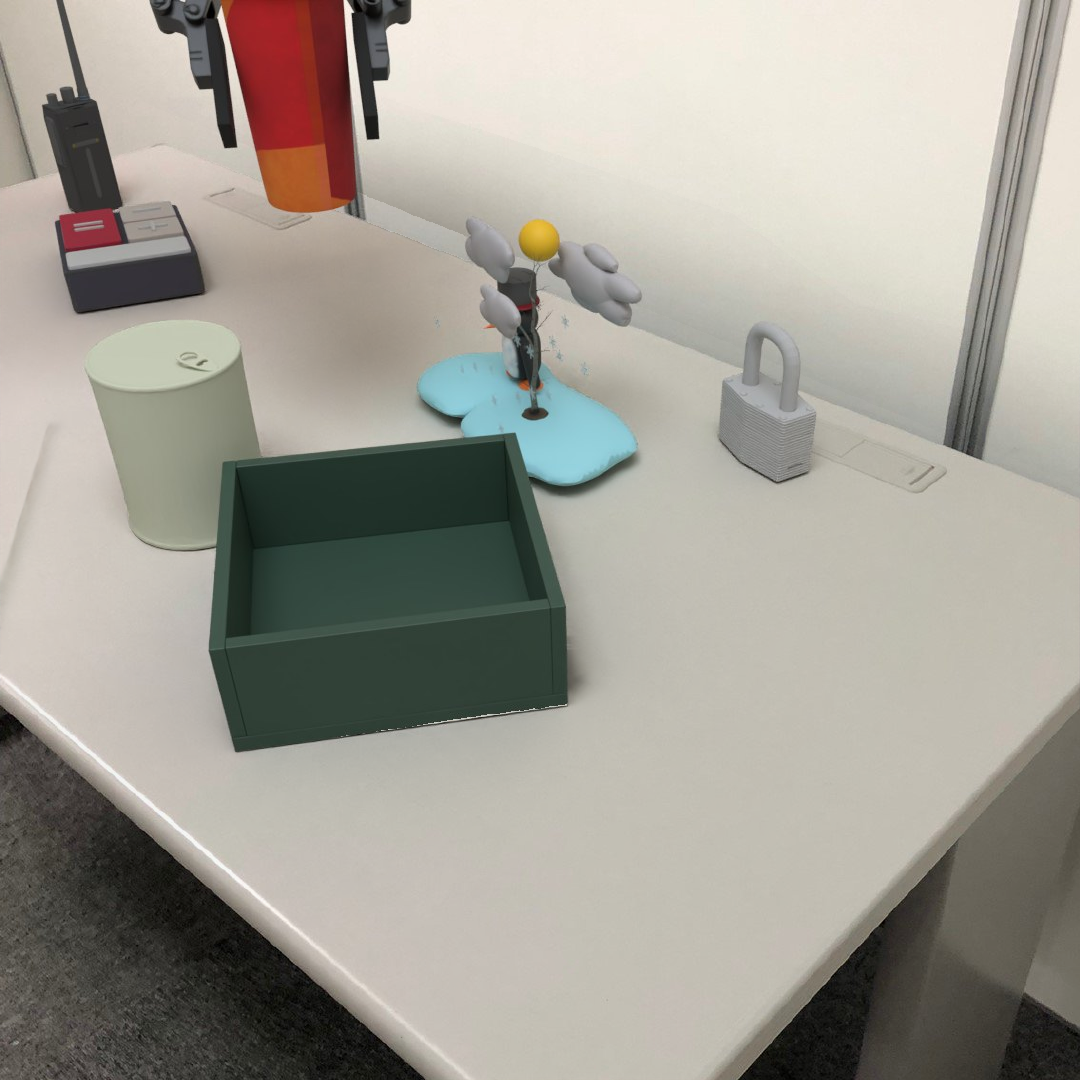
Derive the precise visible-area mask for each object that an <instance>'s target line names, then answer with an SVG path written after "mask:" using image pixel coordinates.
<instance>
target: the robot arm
mask: <svg viewBox="0 0 1080 1080" xmlns="http://www.w3.org/2000/svg"><path fill="white" fill-rule="evenodd" d="M148 1H149V4H150V8H151V10H152V13H153V17H154V19H155V22H156V24H157V25H156V26H157V28H158V30H159V31H160V32H161V33H163V34H165V35H173V34H175V33H177V34H181V35H183V36H184V37H186V40H187V48H188V49H187V50H188V58H189V63H190V65H189V66H190V71H191V74H192V77H193V80H194V83H195V85H196V86H197V88H198V90H199V91H200V90H203V91H204V90H212V93H213V103H214V109H215V117H216V126H217V130H218V132H219V135H220V138H221V141H222V146H223V149H236V148H238V141H237V140H238V139H237V131H236V125H235V117H234V109H233V100H232V99H233V98H232V92H231V91H232V90H231V82H230V75H229V67H228V59H227V49H226V45H225V40H224V37H223V32H222V28H221V24H220V21H219V18H218V17H219V14H220V10H221V9H222V6H221V2H220V0H184V1H183V0H148ZM346 1H347V3H348V5H349V6H350V9H351V10H352V12H350V16H351V26H352V28H351V29H352V38H353V39H352V40H353V47H354V54H355V55H354V56H355V61H356V70H357V77H358V85H359V91H360V99H361V104H362V105H361V108H362V114H363V122H364V128H365V129H364V130H365V136H366V141H371V140H380V125H379V123H380V122H379V112H378V105H377V97H376V90H375V89H376V88H375V83H374V82H383V81H385V82H387V81H389V78H390V74H391V62H390V61H391V57H390V52H389V51H390V50H389V44H388V36H387V30H388V29H389V27H391V26H393V25H395V24H398V25H401V26H402V25H406V24H408V23H410V21H411V19H412V0H346Z"/></svg>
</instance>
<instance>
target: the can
mask: <svg viewBox="0 0 1080 1080" xmlns="http://www.w3.org/2000/svg"><path fill="white" fill-rule="evenodd" d="M83 365H84V371H85V373H86V375H87V377H88V380H89V382H90V386H91V389H92V392H93V395H94V399H95V402H96V405H97V408H98V412H99V415H100V418H101V421H102V425H103V428H104V431H105V435H106V439H107V441H108V442H107V443H108V445H109V449H110V452H111V456H112V459H113V462H114V465H115V469H116V473H117V477H118V480H119V484H120V488H121V491H122V494H123V498H124V501H125V505H126V510H127V515H128V517H127V519H128V525H129V527H130V530H131V531H132V533H133V534H134V535H135V536H136V537H137V538H138V539H139V540H141V541H142V542H144V543H146V544H148V545H151V546H152V547H156V548H160V549H165V550H171V551H196V550H199V551H200V550H205V549H210V548H216V543H217V530H218V517H219V503H220V490H221V477H222V463H223V462H227V461H237V460H246V459H256V458H263V457H262V453H261V448H260V442H259V438H258V433H257V427H256V424H255V423H256V422H255V417H254V413H253V409H252V403H251V397H250V392H249V387H248V382H247V375H246V371H245V365H244V359H243V352H242V343H241V341H240V338H239V337H238V336H237V334H236V333H235V332H234V331H232V330H231V329H229V328H228V327H225V326H224V325H221V324H218V323H215V322H209V321H205V320H197V319H169V320H167V319H166V320H161V321H160V320H158V321H152V322H146V323H142V324H138V325H135V326H132V327H128V328H124V329H123V330H120V331H116V332H115V333H112V334H110V335H108V336H107V337H105V338H104V339H102V340H100V341H99V342H97V343H96V344H95V345H94V346H93V347H92V348H91V349H90V350H89V351H88V353H87V354H86V355H85V358H84V364H83Z"/></svg>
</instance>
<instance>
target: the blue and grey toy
mask: <svg viewBox="0 0 1080 1080" xmlns="http://www.w3.org/2000/svg"><path fill="white" fill-rule="evenodd" d="M465 229H466V231H467V234H468V235H470V236H468V237H467V238H466V240H465V242H464V248H465V253H466V255H467V257H468V259H469V260H470V261H471V262H472V263H473V264H475V265H476V266H477V267H479V268H482V269H483V270H484V271H485V273H486V274H487V275H488V276H490V277H491V278H492V279H493V280H495V281H496V287H497V289H496V288H495V287H494V286H492V285H490V284H488V283H484V284H482V285H480V289H479V292H480V295H481V297H482V298H483V299H482V300H480V303H479V311H480V314H481V316H482V318H483V320H485V321H486V322H487V323H488V325H487V326H485V327H483V328H482V329H483V330H485V329H494V328H495V329H496V330H497V331H498V332H499V333H500V334H501V335H502V336H501V349H502V350H501V352H471V353H463V354H459V355H454V356H451V357H448V358H445V359H442V360H440V361H438V362H436V363H435V364H433V365H431V366H429V367H428V368H427V369H426V370H425V371H423V373H422V374H421V375H420V377H419V379H418V382H417V383H416V384H417V385H416V391H417V393H418V395H419V396H420V398H421V399H422V400H423V401H424V402H425V403H426V404H427V405H429V406H430V407H431V408H432V409H435V410H436V411H438V412H440V413H442V414H444V415H447V416H450V417H453V418H462V421H461V422H460V430H461V431H462V434H463V436H464V438H466V437H476V436H486V435H496V434H505V433H516V436H517V439H518V443H519V446H520V449H521V453H522V456H523V460H524V463H525V467H526V470H527V474H528V477H529V478H535V479H537V480H540V481H542V482H544V483H547V484H549V485H553V486H560V487H569V486H575V485H580V484H584V483H586V482H588V481H591V480H594V479H595V478H597V477H599V476H601V475H602V474H604V473H605V472H607V471H608V470H609V469H611V468H612V467H614V466H615V465H617V464H618V463H620V462H622V461H624V460H626V459H628V458H629V457H631V456H633V455H634V454H635V452H636V451H637V450H638V442H637V439H636V437H635V435H634V434H633V431H632V430H631V429H630V427H629V426H628V425H627V424H626V423H625V422H624V420H623V419H622V418H621V417H620V416H619V415H618V414H617V413H616V412H615V411H613V410H612V409H610V408H608V407H607V406H605V405H604V404H602V403H600V402H598V401H596V399H595V400H594V399H593V398H591V397H589V396H587V395H584V394H582V393H580V392H579V391H577V390H575V389H573V388H571V387H570V386H568V385H566V384H564V383H563V382H561V380H559V379H558V378H557V377H556V376H555V375H554V373H553V372H552V370H551V369H550V368H549V367H548V366H547V365H546V364H545V363H544V362H542V353H543V352H549V349H548V348H550V347H547V350H546V349H544V350H542V340H541V338H540V334H539V332H538V330H539V328H541V327H542V326H544V322H545V321H547V319H548V318H549V316H550V315H551V313H552V312H553V310H554V309H552V311H551V312H549V313H548V314H547V315H546V316H545V319H544V320H543V321H542V322H541V323H540V325H539V311H542V308H541V307H542V306H543V305H545V303H543V302H544V300H543V301H541V299H540V297H539V296H538V292H539V291H543V290H544V291H545V288H546V287H549V285H548V286H544V287H543V288H540V289H538V288H537V275H538V271H539V269H540V267H541V266H542V264H541V265H540V264H539V263H541V262H545V263H544V265H546V264H547V267H548V269H549V270H550V272H551V273H552V274H553V275H554V276H555V277H557V278H560V279H562V280H565V283H566V285H567V286H568V287H569V289H570V293H571V296H572V297H573V299H574V300H575V302H576V303H577V304H578V305H579V306H581V308H584V309H586V310H587V311H589V312H591V313H594V314H599V315H600V316H601V317H602V318H603V319H605V320H606V321H608V322H609V323H612V324H613V325H615V326H618V327H621V328H625V327H629V325H630V323H631V321H632V316H633V310H632V307H631V305H637V304H638V303H640V302H641V301H642V299H643V294H642V291H641V289H640V287H639V286H638V285H637V284H636V283H635V282H634V281H633V280H632V279H630V277H628V276H626V275H625V274H623V273H620V272H618V269H619V262H618V260H617V258H615V256H614V255H613V254H612V253H611V252H610V251H609V250H608V249H607V248H605V247H604V246H603V245H601V244H598V243H595V242H590V243H589V242H588V243H586V244H584V245H581V244H579V243H577V242H575V241H570V240H569V241H568V240H563V241H561V239H560V238H561V237H560V234H559V231H558V230H557V228H556V227H555V225H553V224H552V222H549V221H548V220H545V219H540V218H537V219H532V220H529V221H528V222H526V223H525V224H524V225H523V226H522V227H521V229H520V231H519V234H518V245H519V248H520V251H521V253H522V254H523V255H524V256H525V257H526V258H528V259H529V260H531V261H533V268H532V269H531V268H527V267H520V266H519V267H518V266H516V267H513V266H514V265H515V261H516V256H515V251H514V248H513V246H512V245H511V243H510V241H509V240H508V239H507V238H506V236H505V235H504V234H503V233H502V232H501V231H499V230H498V229H497V228H495V227H492V226H491V225H489V224H488V223H486V222H485V221H483V220H481V219H479V218H477V217H476V216H470V217H468V218H467V219H466V220H465ZM556 254H557V256H558V257H555V256H556ZM535 262H536V265H535ZM536 266H538V267H537V268H536ZM535 268H536V271H535ZM541 303H543V304H541ZM561 318H562V321H561V324H562V325H564V328H565V329H567V327H569V325H568V322H569V319H567V316H566V314H564V316H563V315H561ZM434 319H435V320H434V324H436V326H437V328H440V327H441V326H440V320H439V319H438V316H437V315H436V317H435V316H434ZM537 326H538V327H537ZM548 337H549V340H550V341H549V344H551V345H552V349H553V352H556V353H557V359H558V360H559V361H558V362H559V363H561V362H563V356H564V355H563V354H561V350H560V349H558V350H557V345H556V342H557V340H555V339H554V335H550V336H548ZM555 348H556V349H555ZM554 349H555V350H554ZM588 370H589V368H588V366H587V365H586V362H583V365H581V370H580V371H582V372H583V373H584V374H583V375H584V376H585V377H586V376H589V372H588Z"/></svg>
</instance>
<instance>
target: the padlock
mask: <svg viewBox="0 0 1080 1080" xmlns="http://www.w3.org/2000/svg"><path fill="white" fill-rule="evenodd" d="M765 339H767V340H769V341H771V342H772V343H773V344H774V345H775V346H776V347H777V348H778V350H779V352H780V354H781V357H782V371H783V372H782V381H780V380H777V379H775V378H773V377H771V376H770V375H768V374H766V373H763V372H762V371H760V370H761V369H760V368H761V359H762V350H763V349H762V348H763V345H764V340H765ZM801 362H802V361H801V354H800V351H799V348H798V345H797V343H796V341H795V339H794V337H793V336H792V335H791V334H789V332H788V331H787V330H786V329H784V328H783V327H782V326H781V325H779V324H777V323H775V322H772V321H766V320H762V321H758V322H757V323H754V324H753V325H752V326H751V328H750V329H749V331H748V333H747V336H746V341H745V347H744V359H743V368H742V369H743V372H741V373H737V374H734V375H731V376H728V377H724V378H723V379H722V381H721V382H722V383H721V396H720V409H719V410H720V411H719V424H718V436H717V437H718V439H719V440H720V442H722V443H723V444H724V446H725V447H727V449H729V451H730V452H731V453H732V454H733V455H734V457H735V458H736V459H737V460H738V461H739V462H741V463H742V464H744V465H746V466H748V467H750V468H751V469H753V470H755V471H757V472H758V473H760V474H762V475H764V476H765V477H767V478H769V479H771V480H772V481H773V482H776V483H779V482H782V481H784V480H788V479H791V478H793V477H796V476H799V475H801V474H805V473H807V472H809V471H810V468H811V467H810V466H811V460H812V459H811V458H812V452H813V446H814V443H813V442H814V437H815V428H816V427H815V426H816V422H817V410H816V409H815V408H814V407H813V406H812V405H811V404H810V403H809V402H808V401H806V400H805V398H803V397H802V396H801V395H800V394H799V386H800V378H801Z"/></svg>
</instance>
